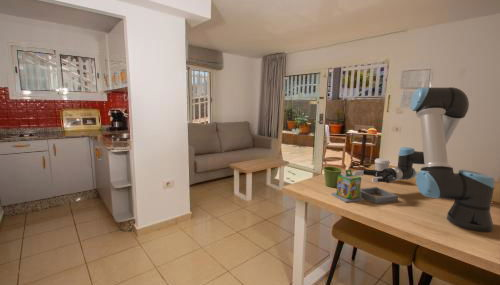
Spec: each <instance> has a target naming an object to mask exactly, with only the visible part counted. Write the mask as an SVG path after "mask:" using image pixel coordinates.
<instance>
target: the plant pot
mask: <svg viewBox="0 0 500 285" xmlns="http://www.w3.org/2000/svg"><path fill="white" fill-rule="evenodd" d="M322 169H323V172H324V182H325V186H327V187H331V188H337V180H338V175H341V174H342V172H343V169H342V168H340V167H336V166H324V167H322Z"/></svg>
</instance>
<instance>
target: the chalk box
mask: <svg viewBox="0 0 500 285" xmlns="http://www.w3.org/2000/svg"><path fill="white" fill-rule="evenodd" d="M361 186H362V177H361V176H356V175H354V174H353V172H352V169H346V170H345V173H341V174H340V175H338V180H337V187H336V192H335V193H336V195H339V196H342V197H345V198H347V199H353V198H357V197H361V196H360V189H361Z"/></svg>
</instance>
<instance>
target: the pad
mask: <svg viewBox="0 0 500 285" xmlns="http://www.w3.org/2000/svg"><path fill="white" fill-rule="evenodd" d="M336 193H337V192H332V193H331V195H332V196H333V197H335V198H336V199H339V200H340V201H342V202H343V203H354V202H360V201H361V202H363V201H365V198H363V197H361V196H360V197H357V198H353V199H347V198H345V197H342V196H339V195H336Z"/></svg>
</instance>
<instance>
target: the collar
mask: <svg viewBox="0 0 500 285" xmlns="http://www.w3.org/2000/svg"><path fill="white" fill-rule="evenodd" d="M372 194H373V195H372ZM374 194H378V195H380V196H375V195H374ZM360 197H362V198H364V200H367V201H369V202H371V203H373V204H375V205H377V204H378V205H379V204H385V203H392V202H398V199H399V195H397V194H395V193H393V192H389V191H387V190H384V189H383V188H379V187H377V186H375V187H374V186H373V187H363V188H360Z"/></svg>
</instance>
